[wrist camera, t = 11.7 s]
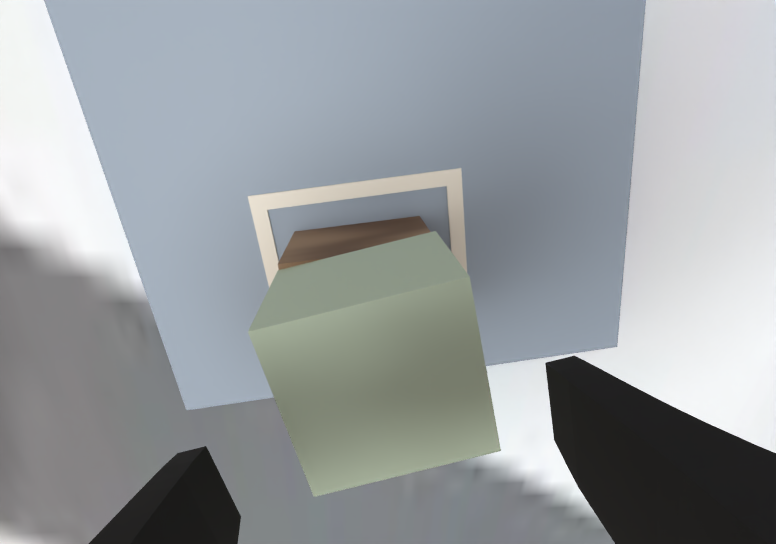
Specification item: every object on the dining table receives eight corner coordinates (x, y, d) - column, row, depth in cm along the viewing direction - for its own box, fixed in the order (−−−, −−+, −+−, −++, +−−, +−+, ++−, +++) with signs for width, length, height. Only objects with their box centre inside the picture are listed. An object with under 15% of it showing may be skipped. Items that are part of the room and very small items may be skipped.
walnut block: (419, 215, 17) (438, 243, 13) (428, 326, 19) (448, 379, 15) (294, 231, 17) (277, 264, 13) (315, 342, 18) (306, 399, 15)
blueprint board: (637, -127, 14) (660, -146, 13) (605, 336, 21) (618, 347, 20) (41, -62, 14) (15, -77, 13) (194, 396, 20) (185, 411, 19)
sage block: (435, 230, 13) (469, 276, 9) (462, 366, 15) (500, 450, 11) (277, 270, 13) (247, 331, 9) (323, 400, 15) (313, 497, 11)
